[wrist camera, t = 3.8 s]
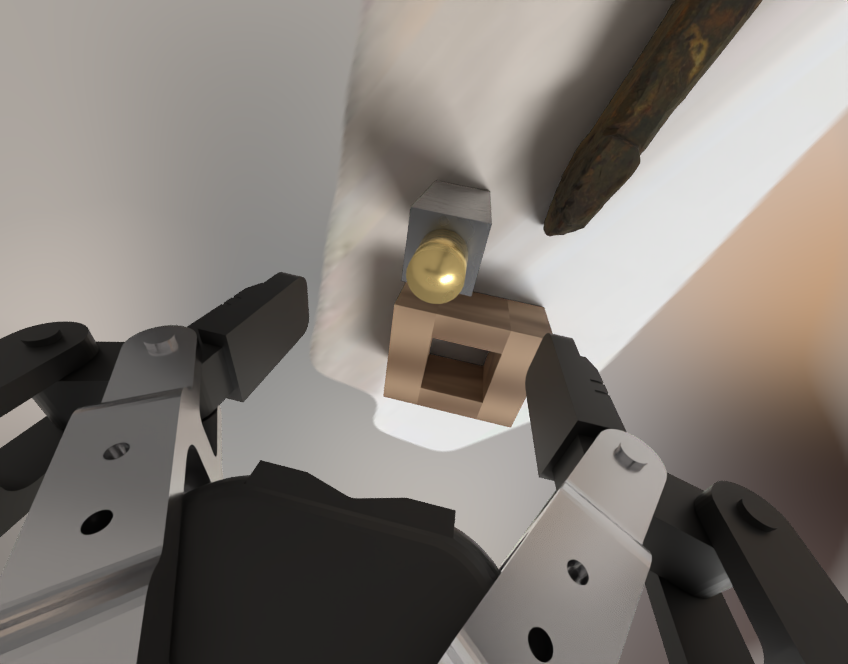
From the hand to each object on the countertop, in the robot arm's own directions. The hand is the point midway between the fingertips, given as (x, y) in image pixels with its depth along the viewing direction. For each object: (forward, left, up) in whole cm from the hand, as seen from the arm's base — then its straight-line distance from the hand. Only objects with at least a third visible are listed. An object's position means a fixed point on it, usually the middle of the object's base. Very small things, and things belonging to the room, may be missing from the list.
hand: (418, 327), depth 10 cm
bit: (0, 0, -16) cm, 16 cm away
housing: (+11, +3, -16) cm, 20 cm away
